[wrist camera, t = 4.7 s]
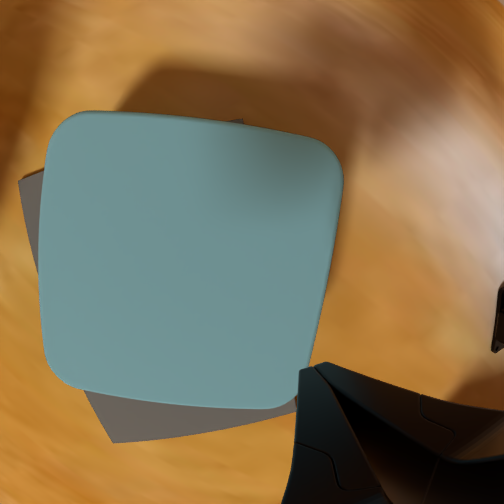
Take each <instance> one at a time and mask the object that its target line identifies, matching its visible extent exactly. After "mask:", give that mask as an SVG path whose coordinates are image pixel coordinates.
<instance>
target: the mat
mask: <svg viewBox="0 0 504 504" xmlns="http://www.w3.org/2000/svg"><path fill="white" fill-rule="evenodd" d="M225 122H231V123H238V124H244V123H243V119H237V120H231V121H225ZM43 175H44V171H42V172H39V173H37V174H34V175H32V176H29V177H27V178H24V179H22V180H19V181H18V184H19V191H20V197H21V203H22V208H23V214H24V219H25V223H26V228H27V233H28V237H29V241H30V245H31V249H32V253H33V257H34V261H35V265H36V268H37V272H38V242H39V219H40V205H41V193H42V184H43ZM84 392H85V394H86V396H87V398H88V400H89V402H90V404H91V406H92V407H93V409H94V411H95V413H96V415H97V417H98V418H99V420H100V422H101V424H102V425H103V427H104V429H105V431H106V432H107V434H108V436H109V437H110V439H111V441H112V442H113V443H125V442H138V441H149V440H158V439H166V438H174V437H181V436H188V435H194V434H200V433H206V432H212V431H217V430H222V429H227V428H232V427H237V426H241V425H246V424H250V423H255V422H259V421H263V420H267V419H271V418H275V417H278V416H282V415H286V414H289V413H293V412H296V405H295V399H294V398H293V399H292V400H290V401H289V402H287V403H286V404H283V405H281V406H279V407H275V408H271V409H234V408H213V407H199V406H187V405H176V404H167V403H158V402H150V401H143V400H136V399H130V398H123V397H118V396H112V395H106V394H101V393H96V392H91V391H86V390H84Z"/></svg>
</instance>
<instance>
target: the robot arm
mask: <svg viewBox="0 0 504 504" xmlns="http://www.w3.org/2000/svg"><path fill="white" fill-rule="evenodd" d="M503 348H504V287H503V288H501V289H500V291H499V294H498V304H497V313H496V322H495V329H494V336H493V342H492V348H491V351H492V352H493V353H497V352H498V351H500V350H501V349H503ZM281 504H504V411H503V410H495V409H488V408H481V407H475V406H468V405H463V404H458V403H453V402H448V401H444V400H440V399H437V398H433V397H430V396H426V395H423V394H421V395H420V394H419V393H416V392H413V391H410V390H407V389H404V388H401V387H398V386H395V385H392V384H389V383H386V382H383V381H380V380H377V379H374V378H371V377H368V376H365V375H362V374H360V373H357V372H354V371H351V370H349V369H346V368H343V367H340V366H338V365H335V364H332V363H330V362H323V363H320V364H317V365H314V367H312V366H310V367H307V368H303V369H300V370H299V376H298V394H297V410H296V425H295V438H294V448H293V458H292V465H291V471H290V475H289V479H288V483H287V487H286V490H285V493H284V496H283V499H282V502H281Z"/></svg>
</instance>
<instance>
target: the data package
mask: <svg viewBox="0 0 504 504" xmlns="http://www.w3.org/2000/svg"><path fill="white" fill-rule="evenodd" d="M343 185H344V177H343V170H342V167H341V164H340V162H339V160H338V158H337V156H336V155H335V154H334V152H333V151H332V150H331V149H330V148H329V147H328V146H327V145H325V144H324V143H322V142H321V141H319V140H316V139H314V138H310V137H306V136H302V135H297V134H292V133H288V132H283V131H278V130H272V129H267V128H262V127H256V126H250V125H244V124H238V123H231V122H225V121H218V120H210V119H203V118H194V117H186V116H176V115H165V114H154V113H140V112H122V111H82V112H79V113H76V114H74V115H72V116H70V117H68V118H67V119H66V120H64V121H63V122H62V123H61V124H60V125H59V126H58V128H57V129H56V130H55V132H54V133H53V135H52V137H51V139H50V142H49V145H48V149H47V154H46V161H45V168H44V175H43V184H42V193H41V205H40V219H39V242H38V278H39V301H40V315H41V326H42V336H43V344H44V352H45V357H46V360H47V362H48V364H49V366H50V368H51V369H52V371H53V372H54V373H55V374H56V376H57V377H58V378H59V379H61V380H62V381H63V382H65V383H66V384H68V385H70V386H72V387H74V388H78V389H82V390H86V391H91V392H96V393H101V394H106V395H112V396H118V397H123V398H130V399H136V400H143V401H150V402H158V403H167V404H176V405H187V406H199V407H213V408H234V409H271V408H275V407H279V406H281V405H283V404H286V403H287V402H289V401H290V400H292V399H293V398H294V397H295V396H296V395H297V394H298V376H299V370H300V369H303V368H307V367H308V366H309V362H310V358H311V354H312V350H313V346H314V341H315V337H316V333H317V328H318V324H319V319H320V315H321V310H322V306H323V301H324V296H325V291H326V286H327V281H328V276H329V271H330V265H331V260H332V255H333V249H334V243H335V238H336V232H337V225H338V219H339V213H340V206H341V200H342V193H343Z"/></svg>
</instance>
